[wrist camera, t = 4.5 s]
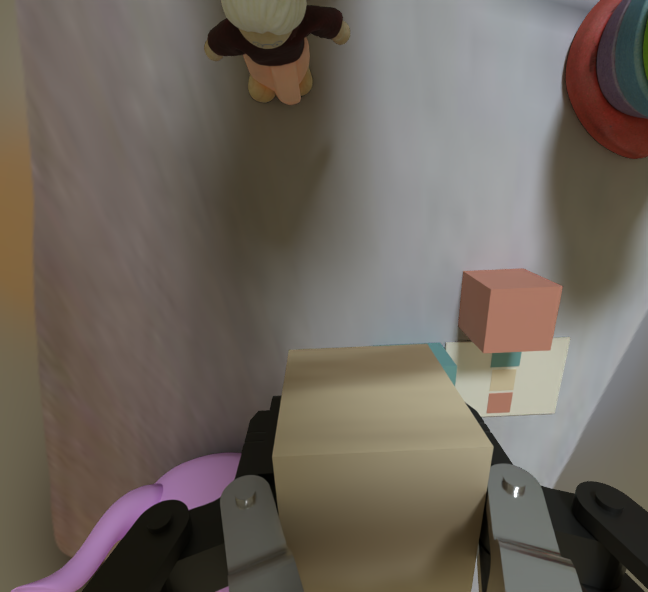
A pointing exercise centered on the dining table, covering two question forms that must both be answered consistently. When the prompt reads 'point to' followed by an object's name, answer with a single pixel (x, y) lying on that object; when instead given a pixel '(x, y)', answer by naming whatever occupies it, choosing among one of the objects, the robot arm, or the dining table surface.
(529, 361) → the page
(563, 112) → the dining table surface
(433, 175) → the dining table surface
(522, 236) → the dining table surface
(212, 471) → the teapot
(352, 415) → the maple block
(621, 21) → the stacking bear
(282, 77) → the grandmother figurine
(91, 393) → the dining table surface
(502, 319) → the red block
